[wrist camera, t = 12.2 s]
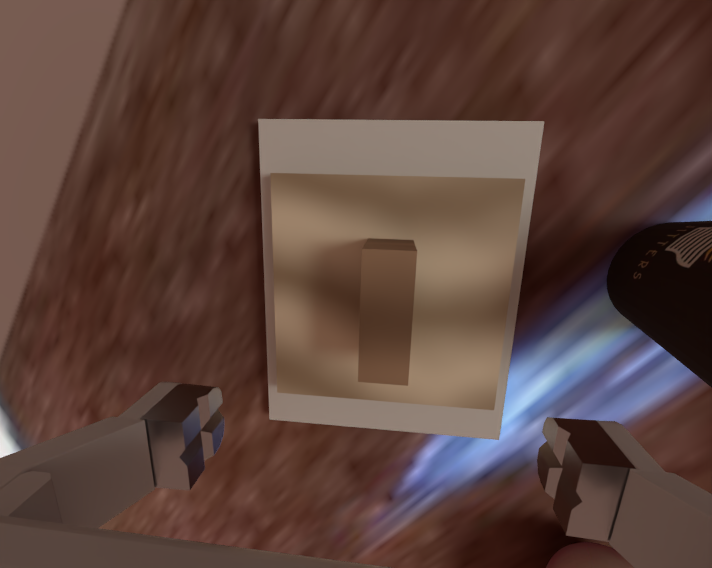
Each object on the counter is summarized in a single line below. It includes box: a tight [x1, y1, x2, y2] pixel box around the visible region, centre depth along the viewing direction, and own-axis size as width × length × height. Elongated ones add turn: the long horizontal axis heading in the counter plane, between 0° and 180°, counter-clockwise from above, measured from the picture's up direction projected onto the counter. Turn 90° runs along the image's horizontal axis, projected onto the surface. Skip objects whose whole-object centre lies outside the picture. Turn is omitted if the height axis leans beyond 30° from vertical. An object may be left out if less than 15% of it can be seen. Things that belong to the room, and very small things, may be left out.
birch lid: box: [270, 173, 525, 410], centre depth 21 cm, size 14×14×5 cm
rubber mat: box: [258, 119, 544, 440], centre depth 24 cm, size 20×16×1 cm
